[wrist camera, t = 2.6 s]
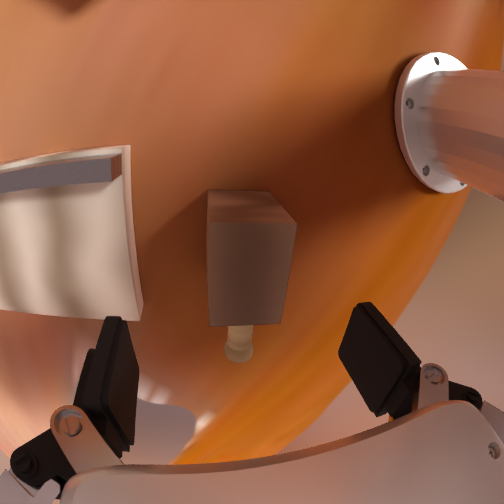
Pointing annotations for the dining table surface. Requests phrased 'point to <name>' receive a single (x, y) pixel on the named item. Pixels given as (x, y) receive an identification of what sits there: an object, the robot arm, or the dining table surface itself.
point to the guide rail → (62, 172)
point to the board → (71, 245)
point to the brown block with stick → (246, 264)
